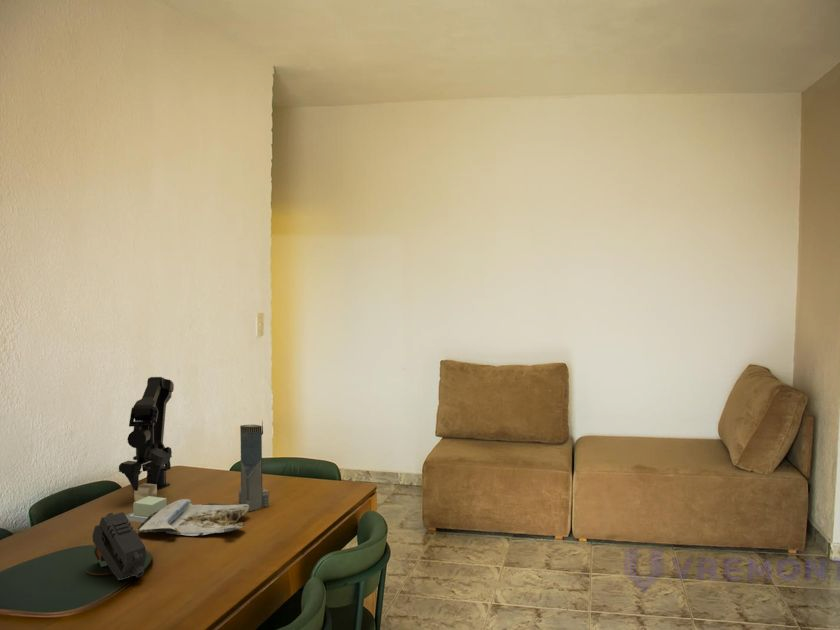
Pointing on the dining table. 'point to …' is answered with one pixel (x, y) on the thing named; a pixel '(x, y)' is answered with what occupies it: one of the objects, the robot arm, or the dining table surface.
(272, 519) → the dining table surface
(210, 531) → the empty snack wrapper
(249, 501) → the building
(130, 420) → the robot arm
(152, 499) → the sage block
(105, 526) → the tool
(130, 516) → the slate mat
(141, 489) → the birch cube
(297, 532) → the dining table surface
